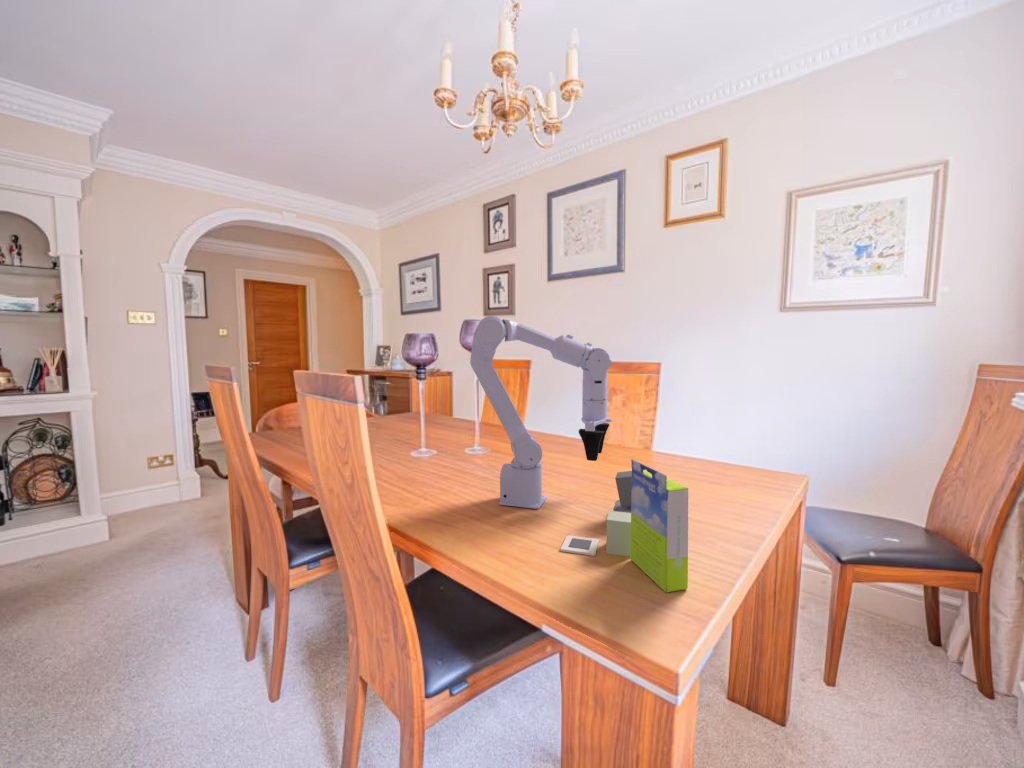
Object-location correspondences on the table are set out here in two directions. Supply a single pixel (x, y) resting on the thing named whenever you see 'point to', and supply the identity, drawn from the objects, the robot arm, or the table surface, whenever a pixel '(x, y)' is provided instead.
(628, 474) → the charcoal block
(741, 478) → the table surface
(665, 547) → the box
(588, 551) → the card
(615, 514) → the sage block
